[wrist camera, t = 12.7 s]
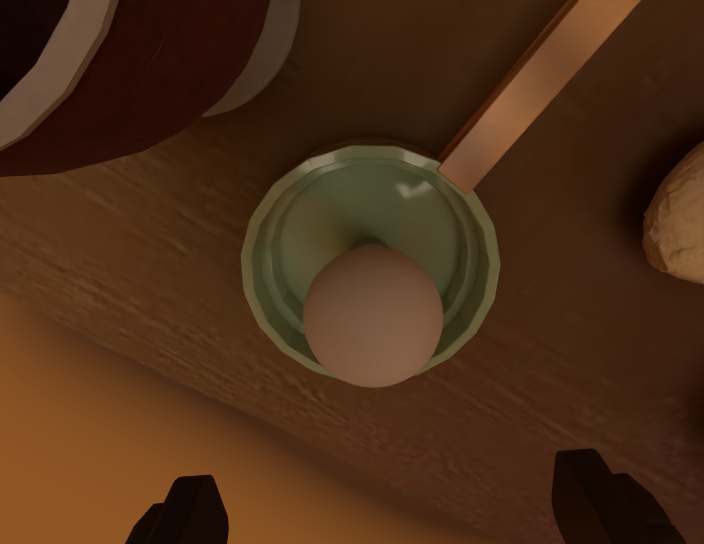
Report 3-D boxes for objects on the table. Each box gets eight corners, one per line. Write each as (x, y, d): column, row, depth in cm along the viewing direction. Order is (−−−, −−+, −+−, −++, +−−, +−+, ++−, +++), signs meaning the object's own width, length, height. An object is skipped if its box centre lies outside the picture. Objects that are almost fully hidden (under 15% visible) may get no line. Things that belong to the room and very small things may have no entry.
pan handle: (460, 188, 22) (467, 196, 20) (431, 164, 21) (436, 170, 20) (657, -36, 18) (683, -47, 16) (625, -71, 17) (650, -86, 16)
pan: (220, 266, 27) (194, 297, 23) (347, 82, 23) (343, 81, 18) (384, 373, 30) (387, 418, 26) (524, 230, 26) (555, 257, 21)
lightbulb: (356, 183, 24) (350, 249, 14) (440, 239, 25) (490, 338, 15) (302, 264, 26) (263, 373, 16) (382, 312, 27) (392, 441, 17)
